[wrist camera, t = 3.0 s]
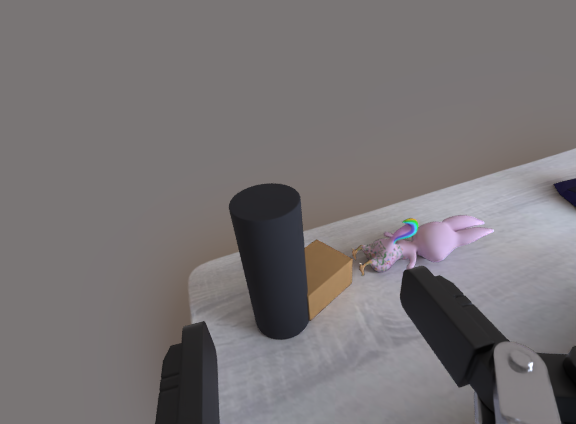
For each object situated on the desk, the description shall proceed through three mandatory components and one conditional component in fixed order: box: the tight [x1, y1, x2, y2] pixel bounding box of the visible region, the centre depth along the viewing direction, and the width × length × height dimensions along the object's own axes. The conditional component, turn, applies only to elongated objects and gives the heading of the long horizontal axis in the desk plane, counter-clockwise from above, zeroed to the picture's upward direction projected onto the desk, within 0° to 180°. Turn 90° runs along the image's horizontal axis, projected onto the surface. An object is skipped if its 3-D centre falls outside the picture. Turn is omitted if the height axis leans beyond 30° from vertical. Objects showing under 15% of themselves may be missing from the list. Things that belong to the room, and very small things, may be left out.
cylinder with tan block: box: [229, 183, 353, 339], centre depth 27 cm, size 10×5×13 cm, turn 133°
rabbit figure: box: [351, 215, 494, 276], centre depth 32 cm, size 6×6×15 cm
